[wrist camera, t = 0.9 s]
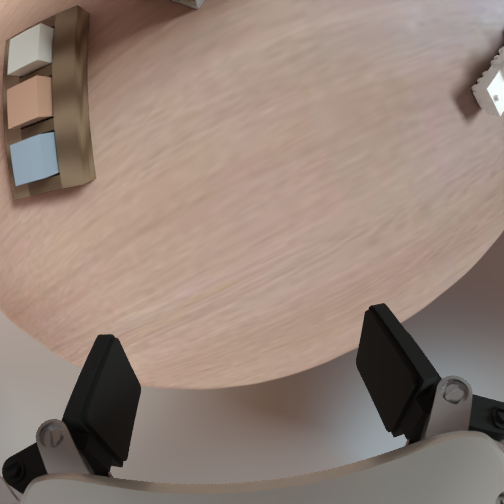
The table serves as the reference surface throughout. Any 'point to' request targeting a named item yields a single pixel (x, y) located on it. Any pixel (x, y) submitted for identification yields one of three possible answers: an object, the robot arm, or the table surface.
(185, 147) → the table surface
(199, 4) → the coffee box
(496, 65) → the toy train
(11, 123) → the key terracotta
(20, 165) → the key blue
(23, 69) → the key white
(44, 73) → the key panel
